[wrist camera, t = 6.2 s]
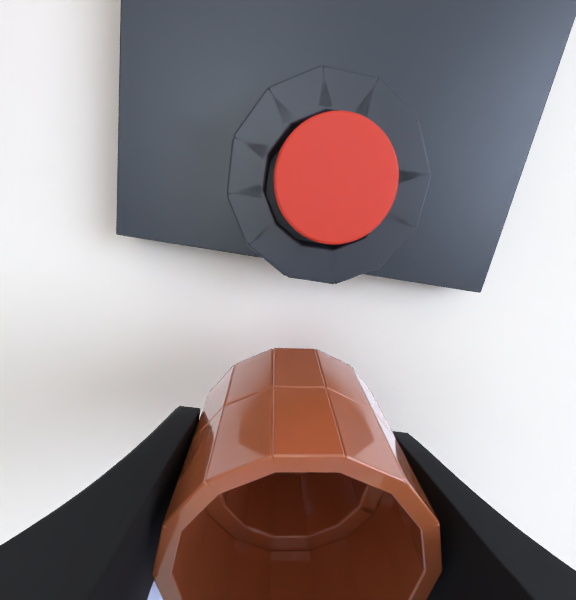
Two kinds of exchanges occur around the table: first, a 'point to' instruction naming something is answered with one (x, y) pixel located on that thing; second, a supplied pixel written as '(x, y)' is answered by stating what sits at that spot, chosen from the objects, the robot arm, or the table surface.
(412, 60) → the console
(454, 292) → the table surface
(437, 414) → the table surface
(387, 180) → the button
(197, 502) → the cup
